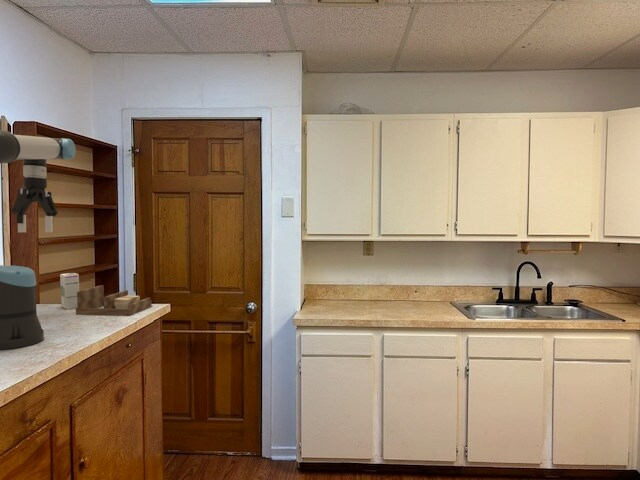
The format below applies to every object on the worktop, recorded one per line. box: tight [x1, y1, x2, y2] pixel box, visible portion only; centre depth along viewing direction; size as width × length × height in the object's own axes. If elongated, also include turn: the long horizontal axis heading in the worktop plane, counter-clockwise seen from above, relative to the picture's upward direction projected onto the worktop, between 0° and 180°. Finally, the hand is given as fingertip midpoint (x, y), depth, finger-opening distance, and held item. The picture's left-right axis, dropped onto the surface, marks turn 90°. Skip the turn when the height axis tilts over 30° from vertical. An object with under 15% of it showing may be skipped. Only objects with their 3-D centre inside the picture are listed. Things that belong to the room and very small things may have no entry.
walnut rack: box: [75, 284, 153, 317], centre depth 173 cm, size 18×22×9 cm
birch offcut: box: [114, 294, 141, 307], centre depth 172 cm, size 8×6×3 cm
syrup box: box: [59, 272, 80, 310], centre depth 178 cm, size 6×6×14 cm
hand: (36, 232), depth 163 cm, fingers open, 13 cm apart
